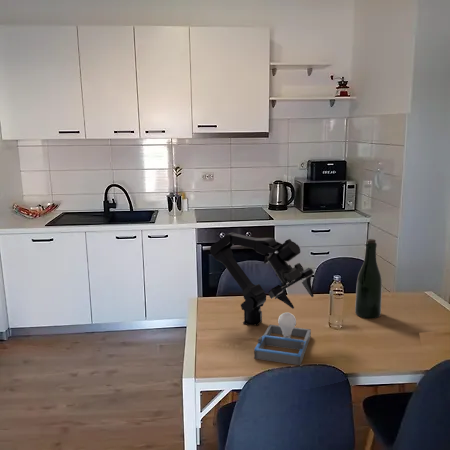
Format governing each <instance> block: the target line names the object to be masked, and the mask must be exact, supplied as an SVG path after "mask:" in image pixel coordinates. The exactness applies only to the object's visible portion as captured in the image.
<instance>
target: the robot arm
mask: <svg viewBox="0 0 450 450" xmlns="http://www.w3.org/2000/svg"><path fill="white" fill-rule="evenodd" d="M234 245H237V246H240V247H244V248H249V249H252V250H254V252H256V253H258V254H260V255H262V256H264V261H263V263H264V264H268V263H269V264H270V266H271V267H272V269H273V271H274V273H275V276H276V277H278V279H279V280H280V281H281V284H278V285H276V286H274V287H272V288H271V289H270V290H269V291H268V296H269V298H270V299H274V300H276V299H277V300H279V301H281V302H282V303H284V304H285V305H287V306H288V307H290V309H295V306H294V305H293V303H292V302H291V300H290V298H289V297H288V295H287V294H286V291H285V289H287V288H289V287H291V286H292V285H295V284H297V283H298V282H300V281H301V284H302V286H303V287H304V289H305V290H306V291H307V293H308V295H310V297H312V298H314V291H313V288H312V282H311V281H312V277H313V274H315V271H314V270H313V268H311V267H308V268H306V269H304V267H303V265H302V264H301V263H300V262H298V263H296V264H294V266H293V267H292V265H291V264H289V263H288V262H290V261H291V260H293V259H294V258H296V257H297V256H298V255H300V254H301V248H300V246H299V245H298V243H296V242H295V241H292V239H291V238H288V239H286V240H285V241H284V242H283V243H281V242H278V241H277V240H276V239H275V238H274V237H252V236H248V235H244V234H239V233H236V232H230V233H226V234H225V235H223V237H222V238H220V239H219V240H218V241H217V242H215V243H212V244H211V245H210V247H209V248H210V249H209V254H211V256H212V257H213V258H214V259H215V260H216V261H217V262H219V263H222V264H223V265H224V267H225V268H226V270H227V271H228V273H229V274H230V275H231V276H232V278H233V279H234V281H235V282H236V283H237V285H238V286H239V288H240V289H241V290H242V294H243V296H242V297H243V300H244V301H243V302H242V303H241V304H240V307H241V310H243V313H244V314H243V316H244V317H243V319H244V321H243V322H242V324H243V325H249V326H259V325H260V324H261V323H262V321H263V311H262V310H261V309H262V308H261V307H263V306H264V304H265V303H266V302H267V294H266V291H265V290H264V289H263V287H262V286H261V284H254V283H253V282H252V281H251V279H250V278H249V276H247V274H246V273H245V271H244V270H243V269H242V268H241V266H240V265H239V264H238V262H237V261H236V259H235V258H234V256H233V251H232V247H233V246H234Z"/></svg>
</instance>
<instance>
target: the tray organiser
mask: <svg viewBox="0 0 450 450" xmlns="http://www.w3.org/2000/svg"><path fill="white" fill-rule="evenodd" d="M311 333H312V330H311V329H310V328H303V327H302V328H301V327H296V326H295V327H294V328H293V330H292V334H291V338H284V337H283V336H282V337H281V336H274V335H272V334H277V335H283V334H282V330H281V328H280V326H279V324H278V325H275V324H269V325H268V327H267V328H266V330H265V331H264V334H263V335H261V336H259V337H258V339H257V341H258V342H257V344H256V345H255V347H254V349H253V350H254V351H253V353H254V359H255V360H263V361H268V362H276V363H283V364H289V365H296V366H301V365H302V362H303V359H304V356H305V354H306V351H307V348H308V345H309V343H310V340H311ZM292 336H293V337H299V339H297V338H292ZM301 337H302V338H304V339H300V338H301ZM265 346H269V347H275V348H283V349H291V350H298V353H295V352H287V351H281V350H274V349H265Z"/></svg>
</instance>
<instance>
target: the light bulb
mask: <svg viewBox="0 0 450 450" xmlns="http://www.w3.org/2000/svg"><path fill="white" fill-rule="evenodd" d="M277 322H278V326H280V328H281V330H282V334H281V335H282V337H284V338H291V339H292V336H291V334H292V330H293V328H294V327H295V328H296V324H297V319H296V317H295V315H294V314H292V313H291V312H283V313H281V314H280V315H279V316H278V321H277Z"/></svg>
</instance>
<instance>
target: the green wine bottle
mask: <svg viewBox="0 0 450 450" xmlns="http://www.w3.org/2000/svg"><path fill="white" fill-rule="evenodd" d="M377 246H378V245H377V242H376V239H374V238H369V239H368V238H367V240H366V242H365V251H364V252H365V253H364V260H363V263H362V265H361V268H360V270H359V272H358V275H357V280H356V289H355V307H354V309H355V310H354V312H355V314H356V316H358V317H360V318H364V319H371V320H372V319H378V318H380V316H381V312H382V294H383V293H382V291H383V290H382V289H383V285H382V284H383V283H382V282H383V279H382V275H381V272H380V269H379V266H378V265H379V264H378V262H377Z"/></svg>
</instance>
